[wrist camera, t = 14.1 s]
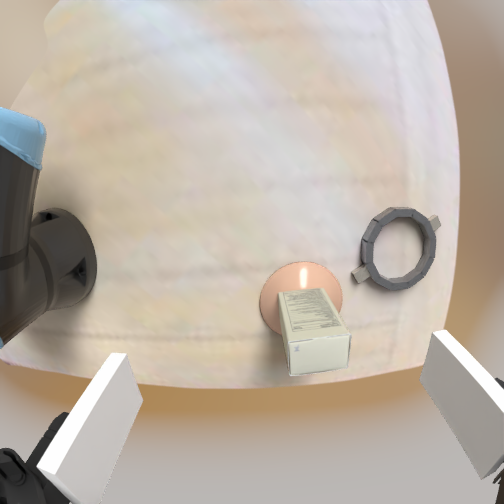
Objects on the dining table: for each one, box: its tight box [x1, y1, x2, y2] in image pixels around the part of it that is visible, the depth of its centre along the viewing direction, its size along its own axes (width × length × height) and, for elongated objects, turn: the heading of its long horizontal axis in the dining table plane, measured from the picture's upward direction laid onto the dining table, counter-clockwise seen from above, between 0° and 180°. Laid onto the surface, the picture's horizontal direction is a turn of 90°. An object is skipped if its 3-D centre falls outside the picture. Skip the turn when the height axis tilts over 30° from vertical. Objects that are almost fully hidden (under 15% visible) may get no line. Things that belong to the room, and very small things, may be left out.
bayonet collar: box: [352, 207, 441, 290], centre depth 35 cm, size 15×11×2 cm
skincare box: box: [278, 288, 351, 376], centre depth 32 cm, size 6×4×12 cm
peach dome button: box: [260, 262, 342, 335], centre depth 38 cm, size 11×11×1 cm
